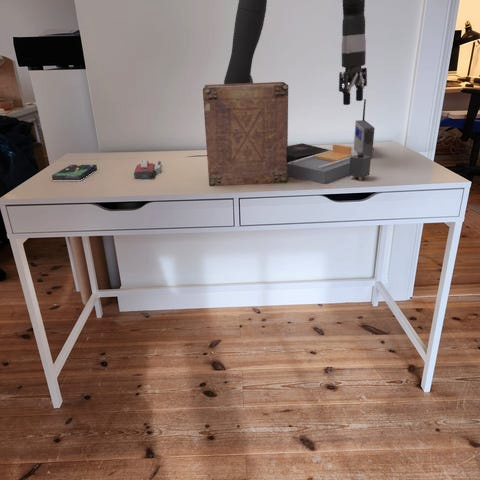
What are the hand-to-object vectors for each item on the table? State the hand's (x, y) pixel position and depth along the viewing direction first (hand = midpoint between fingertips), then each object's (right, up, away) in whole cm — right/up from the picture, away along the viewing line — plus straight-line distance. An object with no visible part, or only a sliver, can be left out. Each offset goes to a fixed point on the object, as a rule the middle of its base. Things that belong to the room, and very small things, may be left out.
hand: (353, 102), depth 148 cm
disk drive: (-97, -24, +10) cm, 101 cm away
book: (-36, -27, -3) cm, 45 cm away
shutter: (-5, -18, +4) cm, 19 cm away
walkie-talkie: (-71, -22, +11) cm, 75 cm away
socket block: (-9, -23, +3) cm, 25 cm away
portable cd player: (-15, -16, +21) cm, 31 cm away
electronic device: (+12, -12, +25) cm, 30 cm away
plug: (0, -26, -6) cm, 27 cm away
